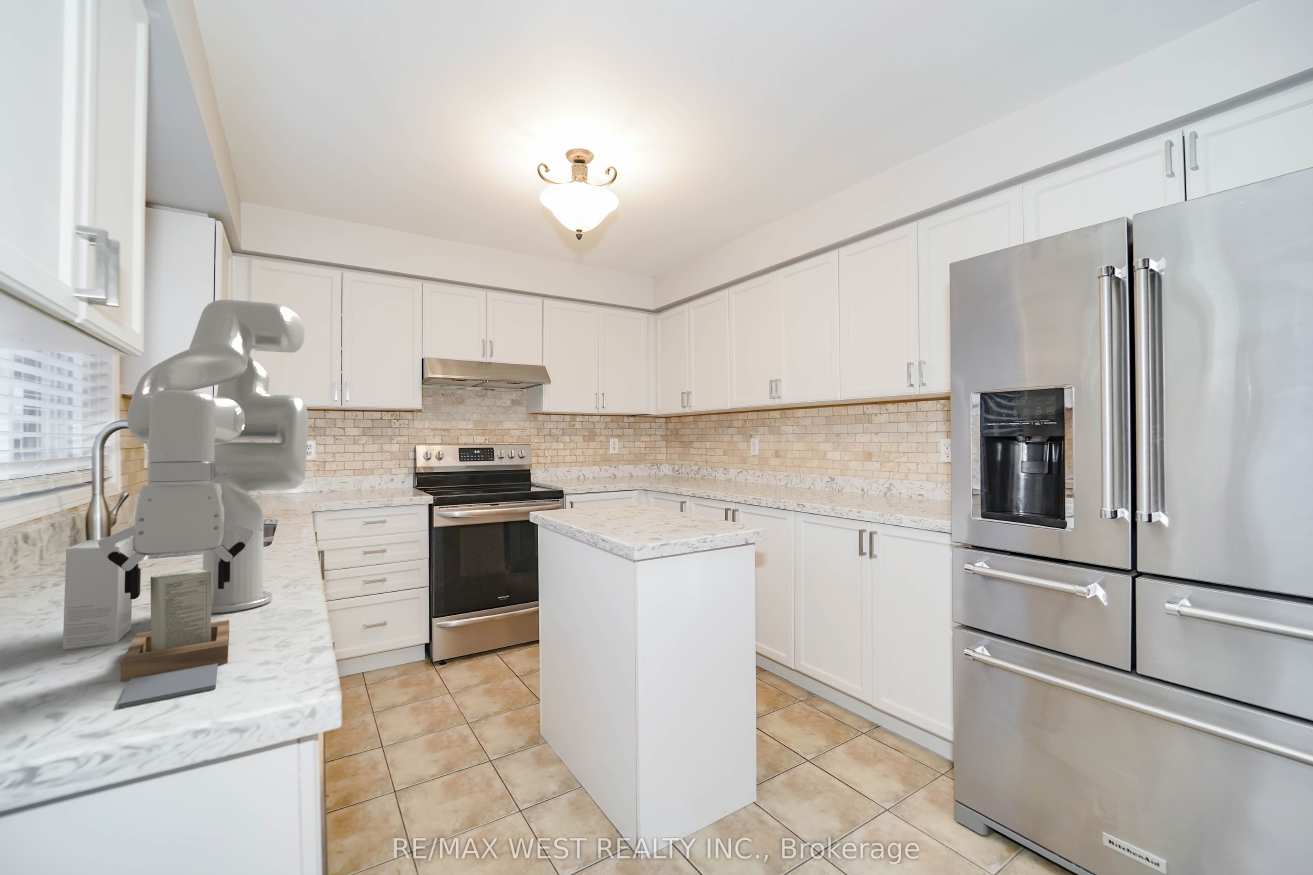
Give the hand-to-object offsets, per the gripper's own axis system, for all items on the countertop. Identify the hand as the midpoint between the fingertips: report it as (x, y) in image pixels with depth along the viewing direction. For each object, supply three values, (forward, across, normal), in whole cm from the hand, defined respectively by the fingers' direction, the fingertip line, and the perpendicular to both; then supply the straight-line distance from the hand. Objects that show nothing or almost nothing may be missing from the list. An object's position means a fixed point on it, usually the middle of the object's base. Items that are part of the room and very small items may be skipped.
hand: (179, 592), depth 83 cm
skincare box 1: (+9, +11, -18) cm, 23 cm away
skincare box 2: (+10, 0, -1) cm, 10 cm away
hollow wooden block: (+9, 0, -1) cm, 9 cm away
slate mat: (+10, 0, +12) cm, 15 cm away
